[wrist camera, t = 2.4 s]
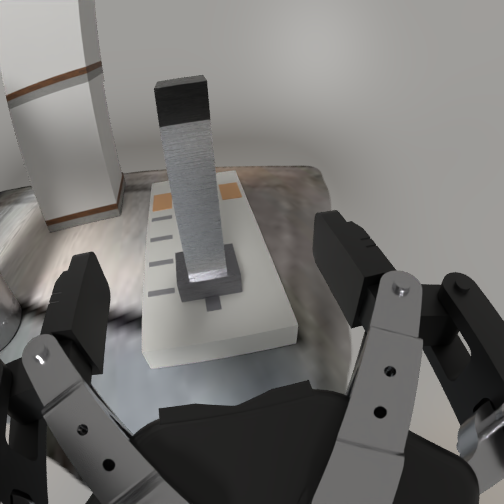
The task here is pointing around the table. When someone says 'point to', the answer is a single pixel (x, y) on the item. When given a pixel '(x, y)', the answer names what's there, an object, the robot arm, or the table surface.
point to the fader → (195, 190)
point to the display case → (60, 109)
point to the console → (215, 308)
